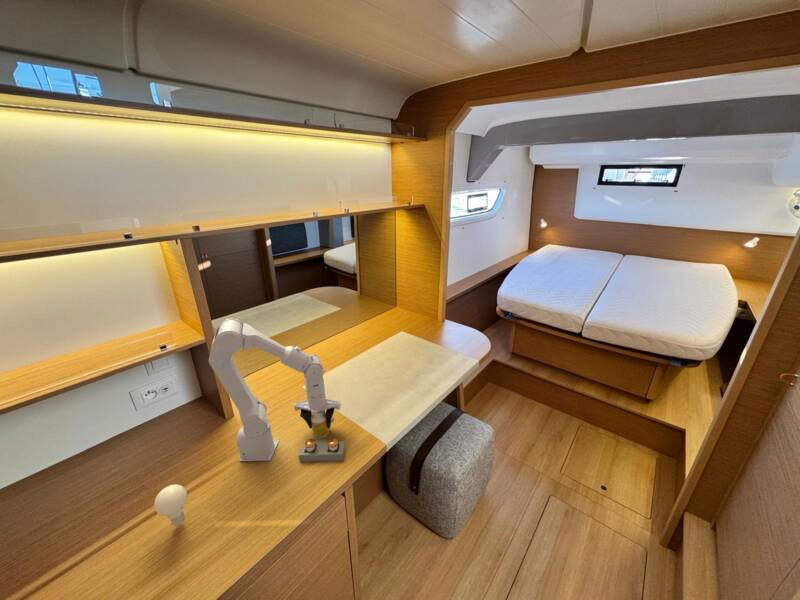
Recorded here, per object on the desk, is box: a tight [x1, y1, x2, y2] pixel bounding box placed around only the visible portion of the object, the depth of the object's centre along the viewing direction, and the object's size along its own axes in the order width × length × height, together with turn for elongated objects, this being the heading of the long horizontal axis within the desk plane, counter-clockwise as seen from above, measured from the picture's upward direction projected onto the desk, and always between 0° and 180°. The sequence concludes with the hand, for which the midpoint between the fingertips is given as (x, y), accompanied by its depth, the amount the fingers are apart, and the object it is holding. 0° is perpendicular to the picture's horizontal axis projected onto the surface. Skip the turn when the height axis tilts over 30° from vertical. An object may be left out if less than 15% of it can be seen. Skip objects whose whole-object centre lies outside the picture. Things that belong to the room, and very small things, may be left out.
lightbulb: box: [153, 483, 188, 527], centre depth 77 cm, size 6×6×11 cm
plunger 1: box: [304, 438, 316, 453], centre depth 96 cm, size 3×3×4 cm
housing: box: [298, 416, 346, 462], centre depth 103 cm, size 13×18×2 cm
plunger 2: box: [327, 437, 339, 452], centre depth 96 cm, size 3×3×4 cm
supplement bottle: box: [311, 410, 330, 439], centre depth 104 cm, size 5×5×10 cm
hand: (320, 426), depth 105 cm, fingers closed on supplement bottle, 5 cm apart
